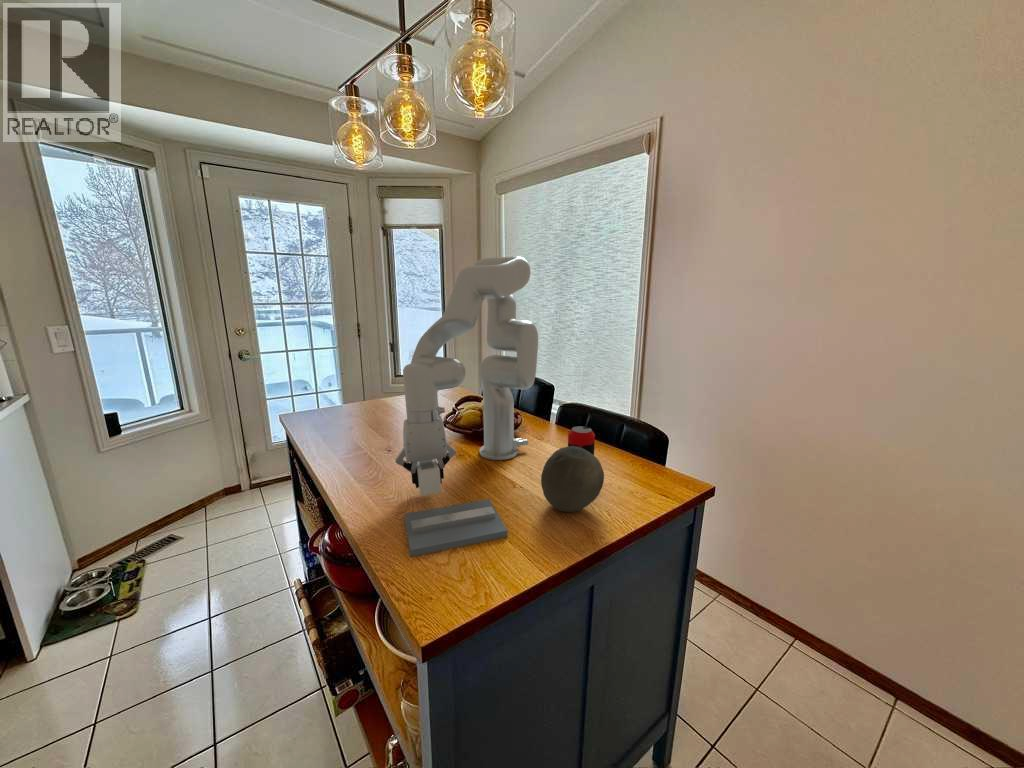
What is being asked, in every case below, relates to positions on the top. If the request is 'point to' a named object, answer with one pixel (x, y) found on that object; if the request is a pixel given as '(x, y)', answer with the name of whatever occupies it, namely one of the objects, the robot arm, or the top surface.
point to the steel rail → (452, 519)
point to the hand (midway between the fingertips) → (428, 482)
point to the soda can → (582, 438)
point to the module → (428, 477)
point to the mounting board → (453, 529)
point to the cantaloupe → (572, 479)
